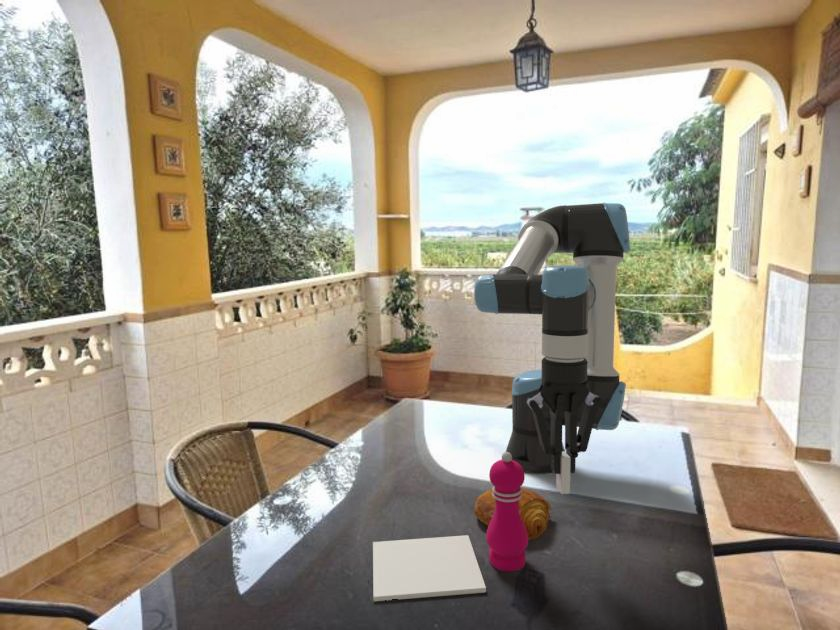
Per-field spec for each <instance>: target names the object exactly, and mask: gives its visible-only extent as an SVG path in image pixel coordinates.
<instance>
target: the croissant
mask: <svg viewBox="0 0 840 630" xmlns="http://www.w3.org/2000/svg"><path fill="white" fill-rule="evenodd" d="M521 489H522V492H521V494H522V497H521V498H520V499H519V513H520V516H521V519H522V521H523V523H524V525H525V527H526V530H527V534H528V541H529V540H531V541H532V540H535V539H537V538H539V537H540V536H541V535H542V534H543V533H544V532H546V530H547V528H548V523H549V521H550V518H551V516H550V512H549V511H552V507H551V505H550V503H549V501H547V500H546V498H544V497H543V496H542V495H540V494H538V493H537V492H535V491H533V490H531V489H529V488H525V487H521ZM492 493H493V490H492V488H489V490H487V491H484V492H483V493H481V494H480V495H479V496H478V497H477V498H476V499H475V502H474V506H473V511H474V515H475V517H476V518H477V519H478V520H479V521H480V522H481V523H482V524H484V525H486V526H487V527H488V526H489V524H490V521H491V519H492V517H493V515H494V512H495V503H496V502H495V498H494V497H493V495H492Z"/></svg>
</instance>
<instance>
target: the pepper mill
mask: <svg viewBox="0 0 840 630" xmlns="http://www.w3.org/2000/svg"><path fill="white" fill-rule="evenodd" d="M488 475H489V476H488V477H489V481H490V483H491V485H493V486H492V488H491V489H492V490H493V493H492V495H493V497H494V498H495V502H496V503H495V512H494V515H493V517H492V519H491V521H490V524H489V526H487V530H486V539H485V540H486V543H487V545H488V546H489V553H488V554H489V555H488V556H489V557H488V558H489V563H490V564H491V566H493V568H495V569H497V570H499V571H503V572H515V571H519V570H521V569H522V568H524V566H525V565H526V551H525V550H526V549H527V547H528V545H529V540H528V534H527V530H526V527H525V525H524V523H523V521H522V519H521V516H520V513H519V499H520V498H521V497H522V494H521V492H522V489H521V488H522V486H523V484H524V482H525V471H524V470H523V468H522V467H521V465H520V464H519V463H517V462H516V461H514V460H512V455H511V454H510V453H509V452H506V451H504V452H503V453H502V454H501V459H499V460H497V461H495V462H494V463H493V464H492V465H491V466H490V470H489V474H488Z"/></svg>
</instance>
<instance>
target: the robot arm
mask: <svg viewBox="0 0 840 630" xmlns="http://www.w3.org/2000/svg"><path fill="white" fill-rule="evenodd" d="M517 237H518V239H517V243H516V244H515V245H514V248H513V249H512V250H511V251H510V253H509V255H508V256H507V257H506V259H505V261H504V262H503V264H502V265H501V266H500V268H499V270H498V271H497V272H496V274H494V273H489V274H482V275H479V276H478V277H477V279H476V281H475V284H474V295H473V296H474V301H475V306H476V308H477V310H478V311H480V313H481V312H482V313H489V314H496V315H497V314H511V315H512V314H514V315H515V314H516V315H518V314H519V315H521V314H522V315H541V320H542V321H541V355H542V356H543V358H542V359H541V369H534V370H532V369H531V370H528V371H524V372H521V373H519V374H517V375H515V376H514V378H513V379H512V390H511V391H512V392H511V400H512V403H511V404H512V405H511V406H512V407H511V408H512V409H511V410H512V416H511V417H512V432H511V434H510V437H509V440H508V444H507V445H506V450H505V452H509V453H510V454H511V455H512V460H514V461H516V462H517V463H519V464H520V465H521V467H522V468H523V470H524V473H525V472H526V473H533V474H534V473H535V474H549V473H553V474H555V475H556V479H555V480H556V483H555V485H556V486H555V487H556V489H557V490H558V492H560V494H561V495H566V494H568V495H569V494H571V474H574V473H576V458H578V457H579V453H585V452H586V451H587V449H588V447H589V443H590V439H591V435H592V430H596V431H599V430H600V431H601V430H603V431H604V430H605V431H613V430H616V428H619V427H618V426H619V424H620V420H621V416H622V411H623V408H624V407H623V406H624V399H625V393H626V387H627V386H626V385H627V384H626V383H625V382H624V381H622V380H620V373H619V372H618V371H617V370H616V369H615V367H614V351H615V350H614V349H615V348H614V347H615V324H616V323H615V318H616V315H615V314H616V291H617V290H616V288H617V287H616V286H617V285H616V284H617V283H616V282H617V268H618V265H620V264H621V263H622V262H623V261H624V254H625V253H629V252H631V242H630V241H631V240H630V231H629V222H628V216H627V211H626V207H625V206H624V205H623V204H621V203H619V202H617V203H612V202H611V203H610V202H609V203H607V202H602V203H588V204H573V205H572V204H571V205H570V204H569V205H566V204H565V205H557V206H553V207H551V208H547V209H545V210H543V211H541V212H540V213H538V214H536V215H534V216H533V217H532V218H530V219H529V220H528V221H527V222H526V223H525V224H524V225H523V226H522V228H521V229H520V231H519V233H518V236H517ZM563 253H564V254H572V261H574V263H575V264H576V265H553V266H546V267H545V268H544V269H543V266H544V264H545V262H546V260H547V258H549V257H551V256H552V255H554V254H563ZM542 269H543V271H542V274H540V272H541V270H542ZM563 426H564V443H563Z"/></svg>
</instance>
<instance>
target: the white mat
mask: <svg viewBox="0 0 840 630" xmlns="http://www.w3.org/2000/svg"><path fill="white" fill-rule="evenodd" d="M372 569H373V570H372V574H373V575H372V576H373V577H372V582H373V583H372V584H373V585H372V586H373V592H372V593H373V596H372V597H373V598H372V599H373V602H384V601H385V600H386V601H393V600H392V599H398V600H408V599H421V598H422V599H423V598H431V597H432V598H434V597H443V596H444V597H446V596H447V597H448V596H457V595H459V596H461V595H470V594H471V595H472V594H483V593H487V586H486V584H485V581H484V578H483V574H482V572H481V569H480V566H479V563H478V560H477V557H476V554H475V551H474V549H473V545H472V542H471V540H470V536H469V535H468V534H467V535H465V534H464V535H454V536H452V535H451V536H439V537H438V536H437V537H425V538H424V537H423V538H413V539H412V538H411V539H399V540H397V539H396V540H385V541H372Z"/></svg>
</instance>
